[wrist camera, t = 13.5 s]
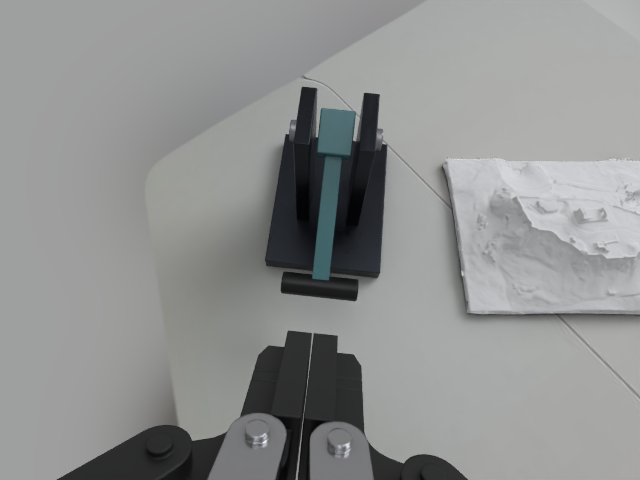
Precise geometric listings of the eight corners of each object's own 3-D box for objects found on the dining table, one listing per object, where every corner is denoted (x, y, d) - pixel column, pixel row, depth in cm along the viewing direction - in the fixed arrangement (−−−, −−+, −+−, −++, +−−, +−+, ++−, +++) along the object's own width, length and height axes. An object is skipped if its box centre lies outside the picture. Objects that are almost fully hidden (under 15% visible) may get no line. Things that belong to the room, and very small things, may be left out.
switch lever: (355, 298, 32) (357, 304, 30) (283, 290, 32) (279, 295, 30) (374, 121, 32) (378, 113, 29) (301, 114, 32) (299, 105, 29)
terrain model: (743, 315, 38) (807, 298, 33) (475, 350, 35) (505, 337, 31) (660, 144, 44) (704, 110, 40) (427, 162, 42) (446, 128, 37)
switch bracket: (377, 277, 37) (407, 211, 26) (266, 265, 37) (249, 194, 27) (385, 152, 42) (412, 52, 31) (286, 141, 42) (279, 38, 31)
